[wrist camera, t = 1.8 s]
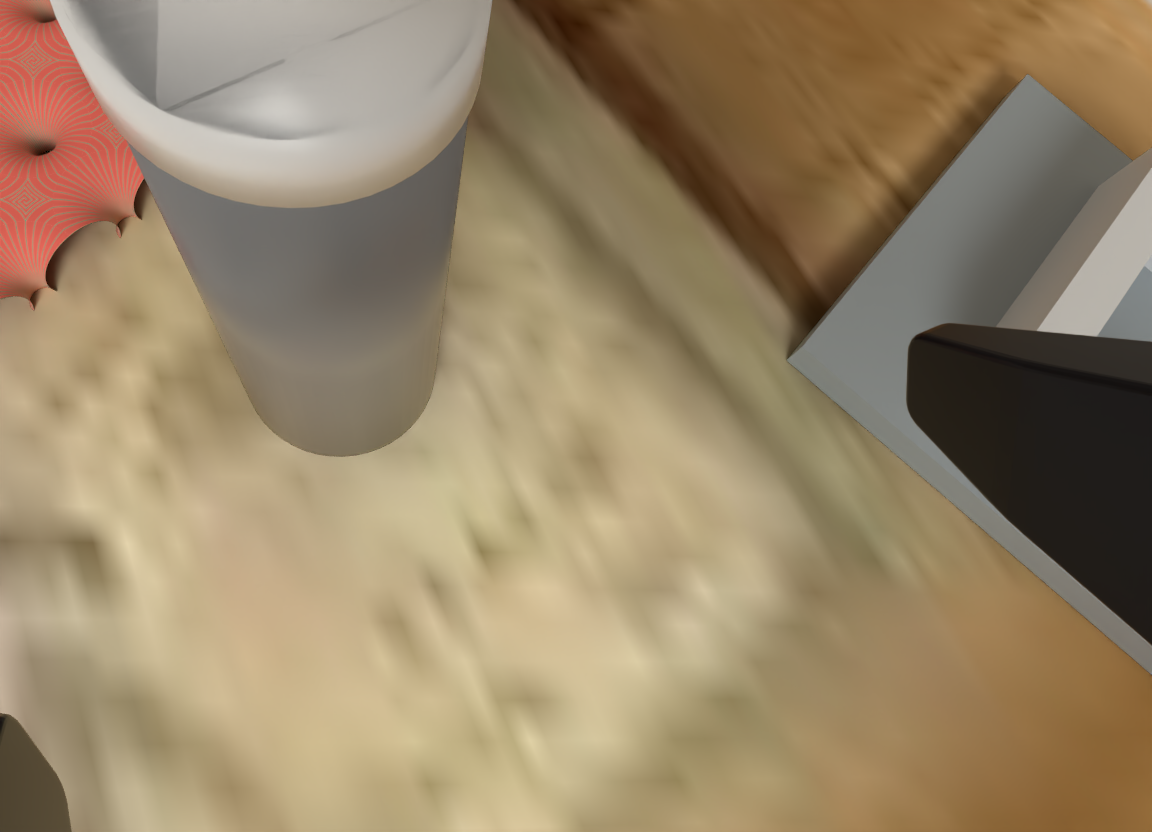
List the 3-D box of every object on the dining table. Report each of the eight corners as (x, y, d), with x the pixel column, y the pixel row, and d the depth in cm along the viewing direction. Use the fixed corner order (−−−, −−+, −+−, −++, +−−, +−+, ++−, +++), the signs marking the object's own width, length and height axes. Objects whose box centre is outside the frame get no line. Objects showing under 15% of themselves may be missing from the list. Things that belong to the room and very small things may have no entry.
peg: (343, 501, 21) (276, 235, 9) (196, 369, 22) (-61, -64, 9) (478, 364, 23) (576, -20, 11) (340, 242, 23) (280, -271, 11)
